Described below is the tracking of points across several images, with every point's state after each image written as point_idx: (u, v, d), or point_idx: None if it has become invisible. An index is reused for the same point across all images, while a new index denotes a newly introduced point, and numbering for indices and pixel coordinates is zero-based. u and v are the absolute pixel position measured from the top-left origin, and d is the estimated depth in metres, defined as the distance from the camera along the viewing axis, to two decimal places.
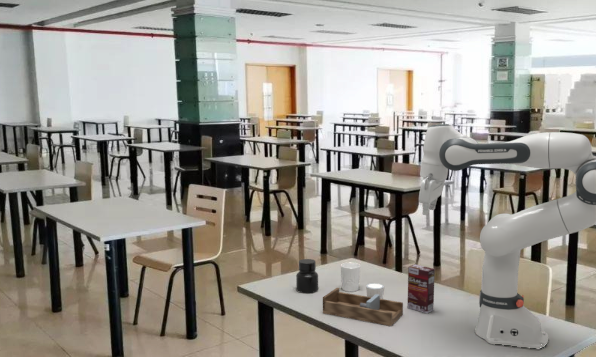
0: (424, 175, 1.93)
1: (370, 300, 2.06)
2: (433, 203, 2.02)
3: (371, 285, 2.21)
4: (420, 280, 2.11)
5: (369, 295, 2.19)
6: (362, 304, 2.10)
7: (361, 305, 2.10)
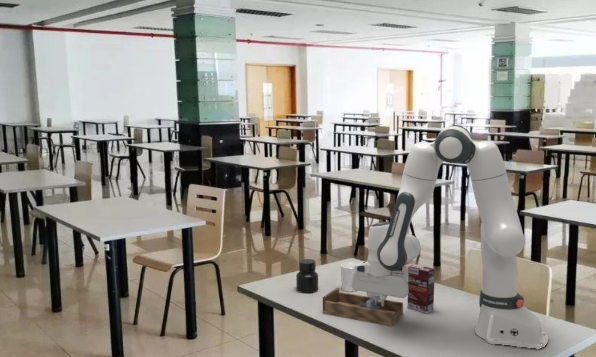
0: (388, 273, 2.02)
1: (370, 300, 2.06)
2: (377, 298, 2.08)
3: None
4: (420, 280, 2.11)
5: (369, 295, 2.19)
6: (362, 304, 2.10)
7: (361, 305, 2.10)
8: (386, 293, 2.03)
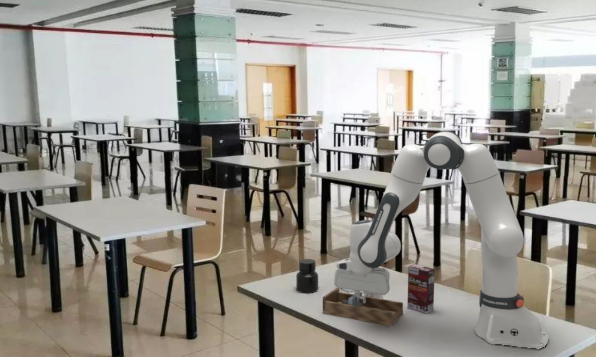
0: (369, 270, 2.05)
1: (352, 297, 2.09)
2: (359, 295, 2.11)
3: None
4: (420, 280, 2.11)
5: (369, 295, 2.19)
6: (344, 301, 2.13)
7: (343, 302, 2.13)
8: (367, 290, 2.07)
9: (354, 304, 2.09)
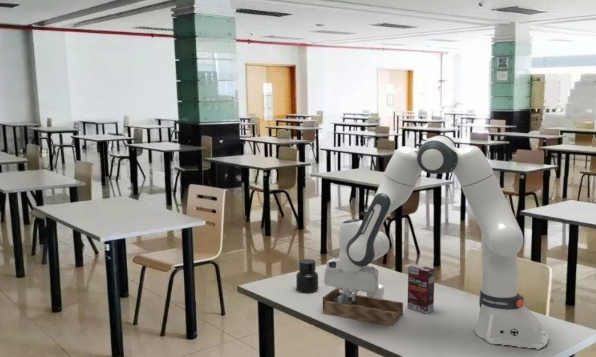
0: (358, 269, 2.07)
1: (341, 295, 2.11)
2: (348, 294, 2.13)
3: None
4: (420, 280, 2.11)
5: (369, 295, 2.19)
6: (334, 299, 2.15)
7: (333, 300, 2.15)
8: (357, 288, 2.09)
9: (343, 302, 2.11)
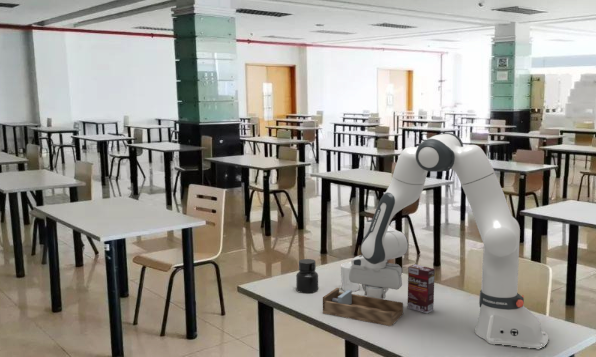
0: (382, 266, 2.15)
1: (341, 295, 2.11)
2: None
3: None
4: (420, 280, 2.11)
5: (369, 295, 2.19)
6: (334, 299, 2.15)
7: (333, 300, 2.15)
8: (381, 285, 2.17)
9: (343, 302, 2.11)
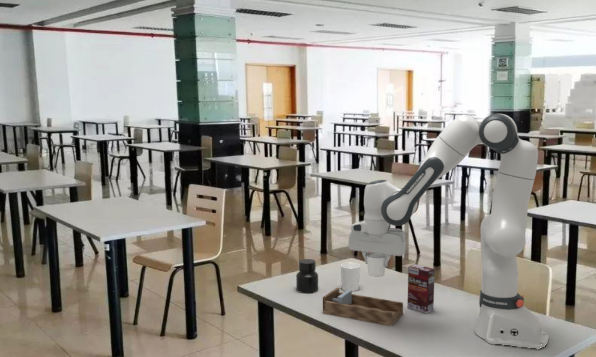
0: (384, 231, 2.00)
1: (341, 295, 2.11)
2: None
3: (372, 255, 2.06)
4: (420, 280, 2.11)
5: (370, 265, 2.04)
6: (334, 299, 2.15)
7: (333, 300, 2.15)
8: (383, 251, 2.02)
9: (343, 302, 2.11)
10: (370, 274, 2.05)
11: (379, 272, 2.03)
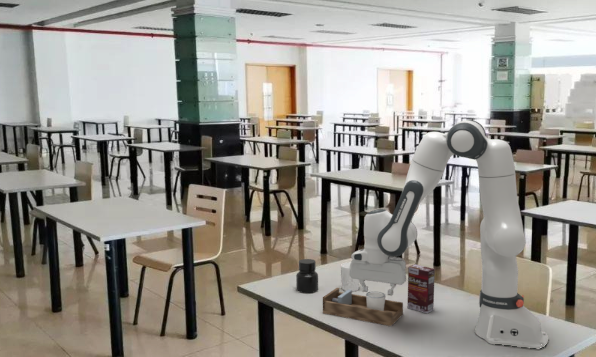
0: (385, 260, 2.02)
1: (341, 295, 2.11)
2: (364, 285, 2.10)
3: (372, 294, 2.08)
4: (420, 280, 2.11)
5: (369, 304, 2.06)
6: (334, 299, 2.15)
7: (333, 300, 2.15)
8: (384, 280, 2.03)
9: (343, 302, 2.11)
10: None
11: None
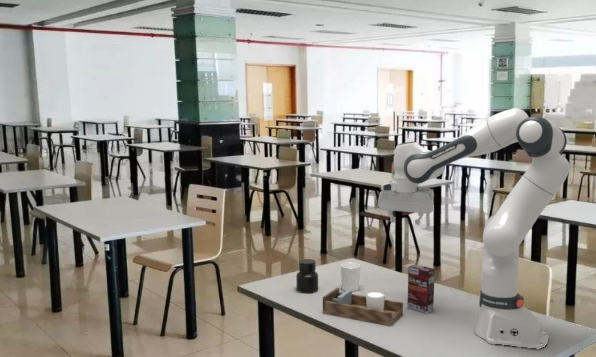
0: (414, 190, 2.10)
1: (341, 295, 2.11)
2: (392, 216, 2.18)
3: (371, 294, 2.08)
4: (420, 280, 2.11)
5: (369, 304, 2.06)
6: (334, 299, 2.15)
7: (333, 300, 2.15)
8: (412, 210, 2.12)
9: (343, 302, 2.11)
10: None
11: None
